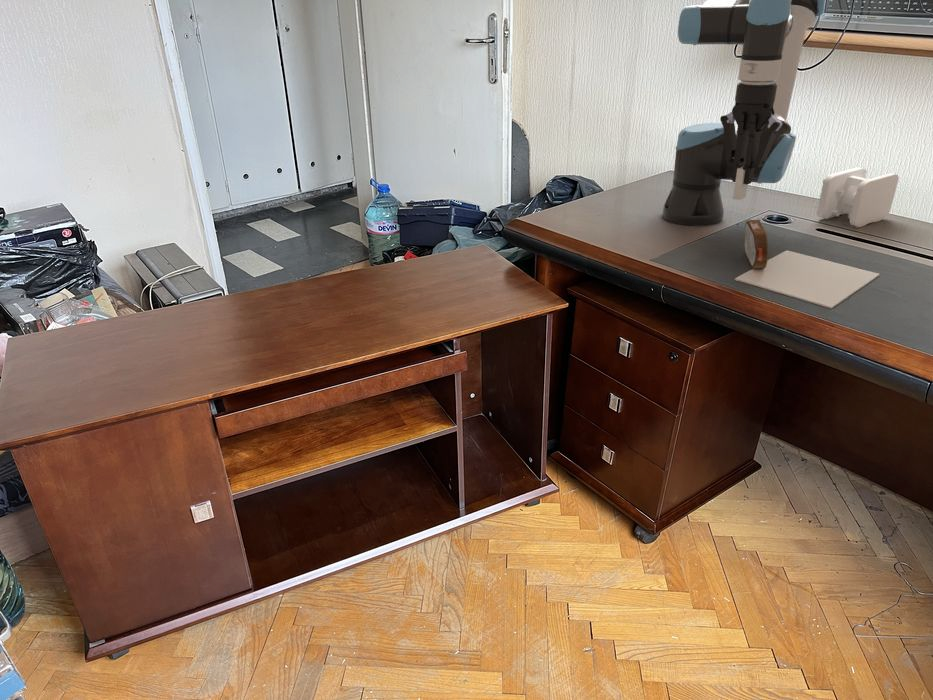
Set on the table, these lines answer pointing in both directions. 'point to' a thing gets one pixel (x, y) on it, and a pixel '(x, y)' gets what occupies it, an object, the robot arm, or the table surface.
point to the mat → (808, 278)
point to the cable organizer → (857, 196)
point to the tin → (756, 244)
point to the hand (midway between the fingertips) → (739, 197)
